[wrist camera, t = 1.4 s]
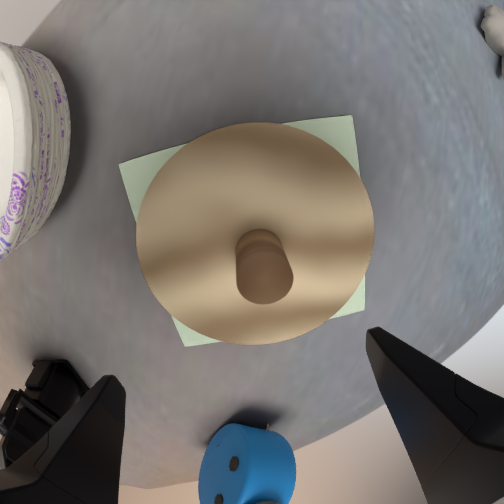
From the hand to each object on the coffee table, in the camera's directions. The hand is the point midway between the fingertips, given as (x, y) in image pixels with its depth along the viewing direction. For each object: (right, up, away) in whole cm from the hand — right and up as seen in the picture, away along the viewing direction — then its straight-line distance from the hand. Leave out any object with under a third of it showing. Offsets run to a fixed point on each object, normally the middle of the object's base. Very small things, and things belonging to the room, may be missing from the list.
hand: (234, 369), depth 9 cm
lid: (+1, +4, +12) cm, 12 cm away
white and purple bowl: (-18, +13, +7) cm, 23 cm away
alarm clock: (-1, -19, +23) cm, 30 cm away
